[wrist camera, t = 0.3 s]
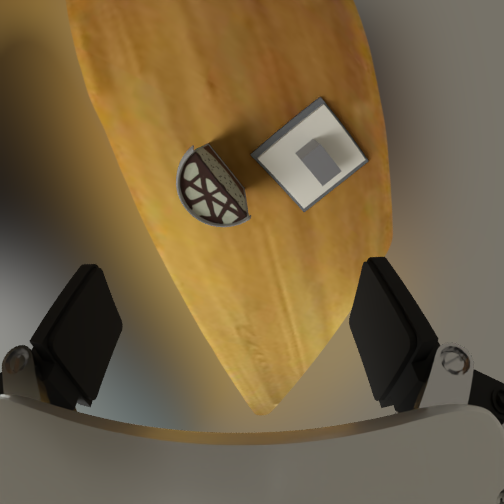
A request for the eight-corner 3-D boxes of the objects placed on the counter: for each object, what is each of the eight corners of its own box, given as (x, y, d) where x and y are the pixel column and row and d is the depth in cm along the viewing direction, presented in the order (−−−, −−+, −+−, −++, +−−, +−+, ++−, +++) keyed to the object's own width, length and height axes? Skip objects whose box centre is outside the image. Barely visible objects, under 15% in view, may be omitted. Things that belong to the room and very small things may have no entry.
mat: (250, 154, 41) (250, 155, 41) (319, 97, 36) (320, 97, 36) (303, 210, 46) (304, 212, 46) (367, 160, 41) (368, 161, 41)
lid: (257, 157, 41) (259, 166, 36) (322, 104, 36) (333, 105, 32) (302, 206, 45) (309, 220, 41) (363, 158, 41) (377, 167, 36)
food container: (172, 160, 41) (153, 179, 33) (202, 135, 39) (190, 148, 31) (220, 216, 47) (214, 247, 38) (250, 195, 45) (251, 222, 36)
